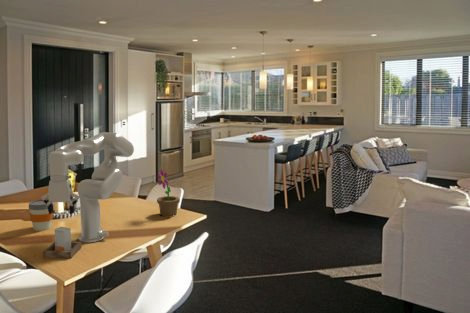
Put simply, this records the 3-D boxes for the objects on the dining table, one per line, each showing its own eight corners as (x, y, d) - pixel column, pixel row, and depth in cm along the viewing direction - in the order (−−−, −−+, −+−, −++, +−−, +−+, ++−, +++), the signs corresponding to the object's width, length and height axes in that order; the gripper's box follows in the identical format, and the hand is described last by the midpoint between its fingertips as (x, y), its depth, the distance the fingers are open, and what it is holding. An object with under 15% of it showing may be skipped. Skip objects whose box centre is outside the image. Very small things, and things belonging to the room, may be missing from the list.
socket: (81, 247, 192) (81, 241, 191) (71, 258, 179) (70, 252, 179) (55, 247, 192) (55, 241, 191) (43, 257, 179) (42, 251, 178)
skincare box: (55, 253, 185) (53, 229, 183) (62, 250, 189) (60, 226, 187) (65, 255, 182) (64, 230, 181) (71, 251, 186) (70, 228, 185)
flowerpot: (152, 213, 250) (152, 168, 245) (171, 209, 259) (171, 165, 255) (165, 219, 239) (164, 171, 235) (184, 214, 249) (184, 168, 245)
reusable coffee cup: (40, 223, 227) (38, 198, 224) (59, 225, 224) (58, 200, 222) (24, 230, 215) (23, 204, 212) (44, 232, 212) (43, 206, 210)
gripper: (81, 176, 184) (82, 211, 187) (44, 176, 184) (46, 210, 186) (75, 179, 177) (76, 216, 179) (36, 179, 176) (39, 215, 179)
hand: (61, 213), depth 183 cm, fingers open, 9 cm apart
